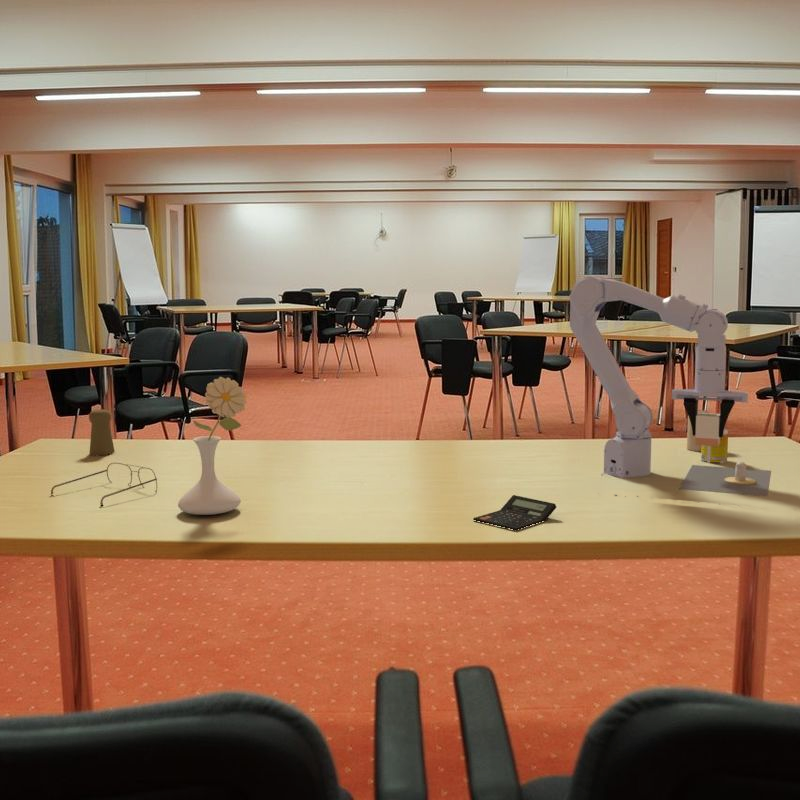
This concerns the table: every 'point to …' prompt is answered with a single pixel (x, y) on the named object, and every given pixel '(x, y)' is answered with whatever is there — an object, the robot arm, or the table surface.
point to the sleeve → (707, 429)
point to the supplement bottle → (716, 451)
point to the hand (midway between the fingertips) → (707, 435)
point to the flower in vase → (209, 490)
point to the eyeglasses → (110, 481)
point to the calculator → (519, 513)
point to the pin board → (727, 480)
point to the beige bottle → (691, 438)
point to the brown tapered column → (101, 433)
